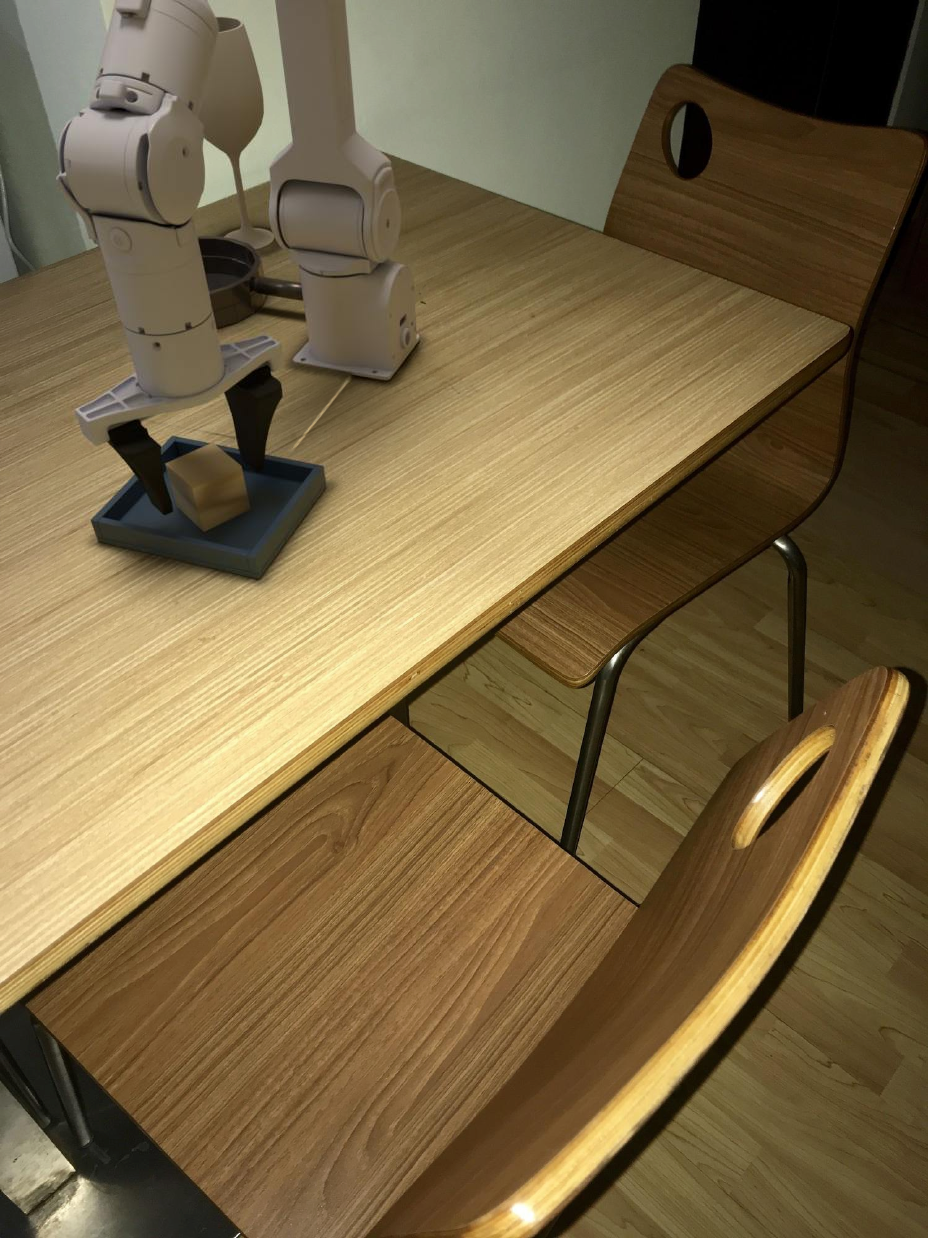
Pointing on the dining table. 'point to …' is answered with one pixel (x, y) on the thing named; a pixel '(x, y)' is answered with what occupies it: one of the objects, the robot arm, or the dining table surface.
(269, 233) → the wineglass
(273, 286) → the pan handle
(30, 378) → the dining table surface
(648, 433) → the dining table surface
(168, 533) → the tray
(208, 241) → the pan
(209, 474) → the cube
